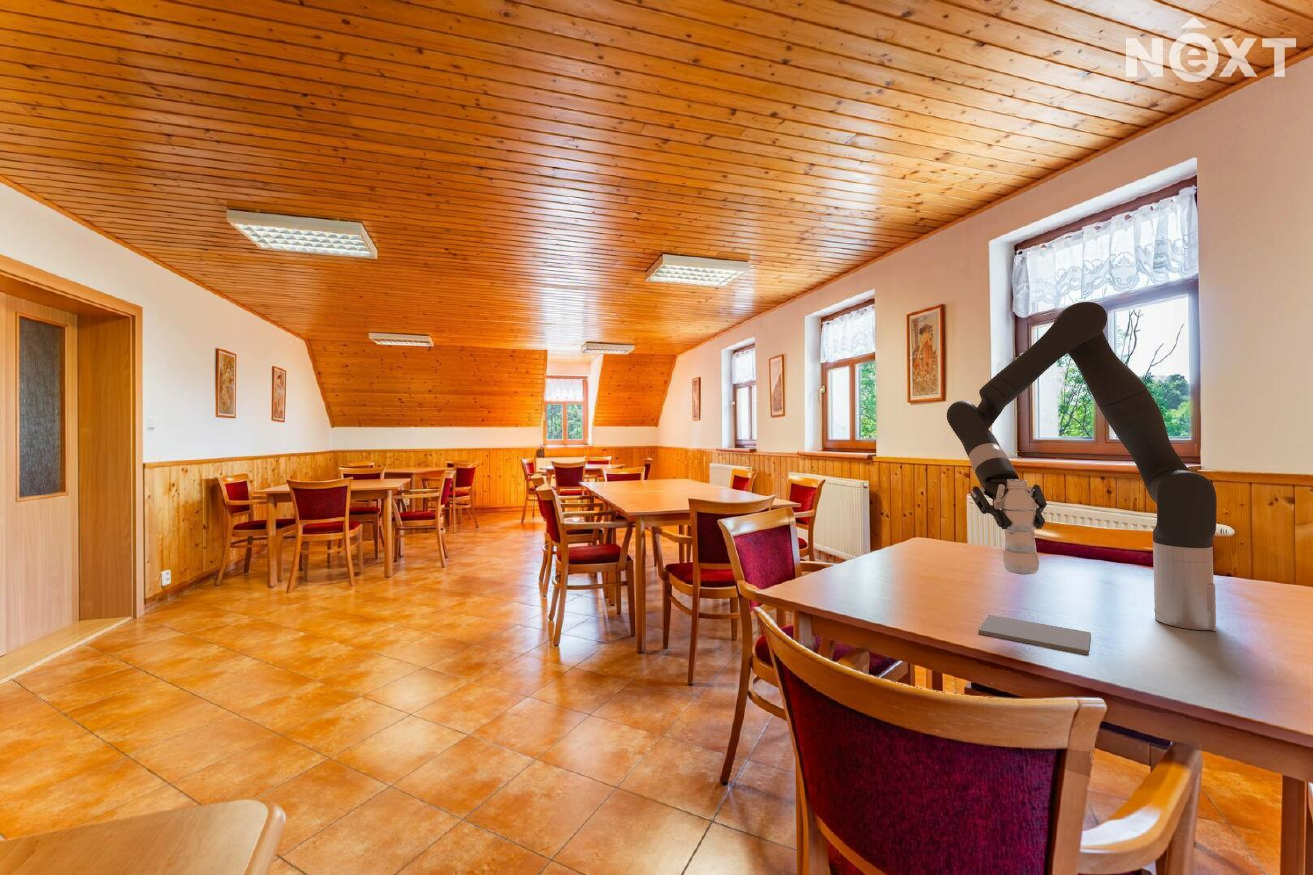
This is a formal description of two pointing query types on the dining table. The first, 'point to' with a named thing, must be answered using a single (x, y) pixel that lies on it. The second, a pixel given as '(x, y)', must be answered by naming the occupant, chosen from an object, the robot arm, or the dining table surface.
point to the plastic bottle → (1019, 529)
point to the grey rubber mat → (1037, 634)
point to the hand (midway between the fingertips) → (1023, 526)
